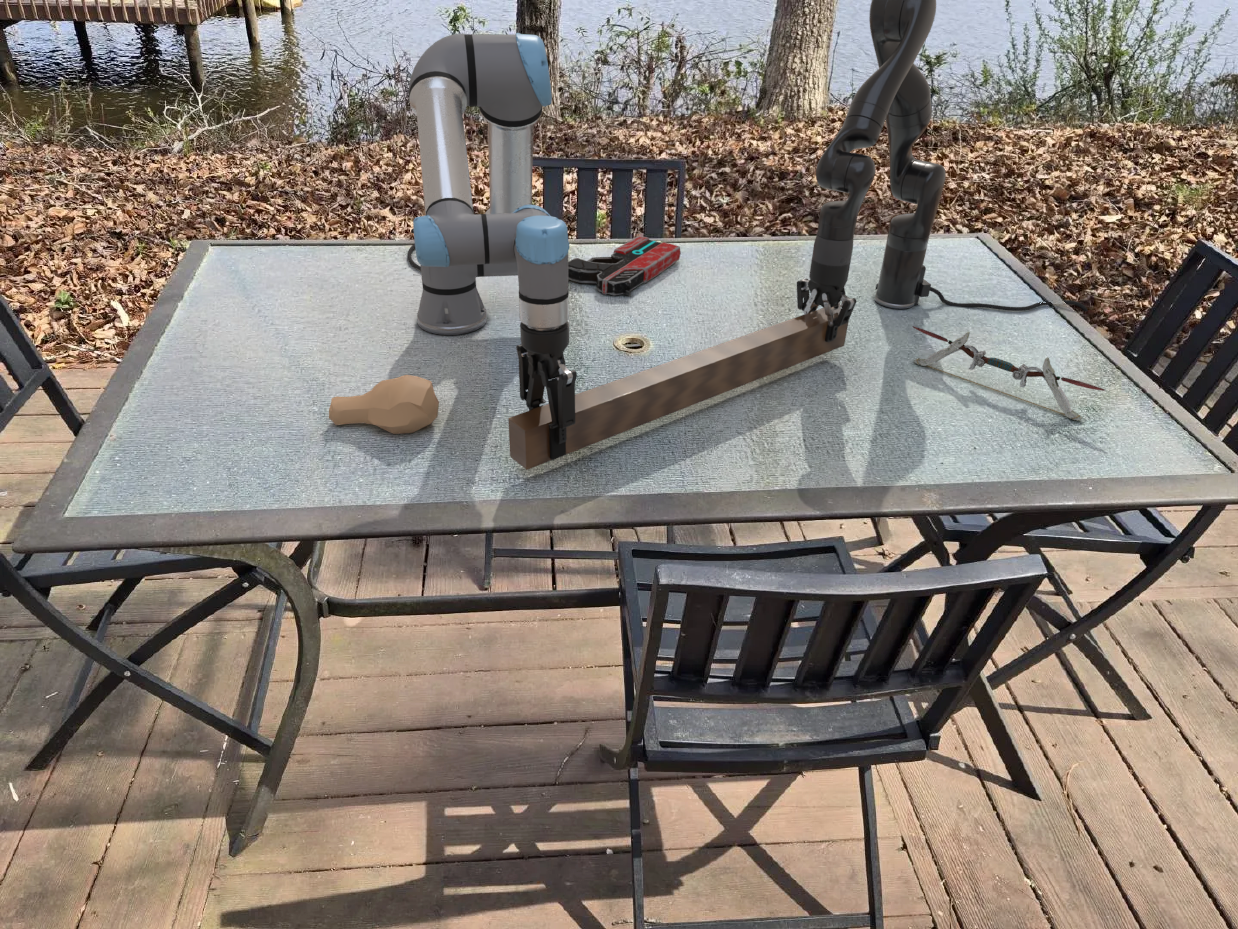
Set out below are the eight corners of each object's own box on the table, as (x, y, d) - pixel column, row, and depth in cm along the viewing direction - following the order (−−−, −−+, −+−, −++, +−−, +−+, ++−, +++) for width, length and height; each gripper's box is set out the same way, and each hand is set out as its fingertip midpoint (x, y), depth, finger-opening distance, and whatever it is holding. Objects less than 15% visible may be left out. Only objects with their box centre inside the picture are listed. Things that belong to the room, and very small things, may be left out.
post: (526, 470, 142) (525, 431, 138) (510, 456, 146) (508, 417, 142) (844, 345, 184) (850, 312, 180) (825, 337, 188) (831, 304, 183)
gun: (556, 265, 215) (624, 284, 207) (621, 228, 237) (685, 244, 229) (556, 282, 217) (623, 301, 209) (620, 244, 239) (683, 260, 231)
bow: (1094, 423, 166) (1111, 376, 160) (1090, 426, 165) (1108, 379, 159) (907, 357, 187) (917, 313, 182) (903, 359, 186) (913, 316, 181)
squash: (439, 440, 156) (426, 401, 150) (330, 449, 157) (313, 410, 151) (448, 401, 164) (436, 363, 157) (344, 410, 165) (328, 372, 159)
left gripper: (599, 335, 130) (598, 465, 143) (532, 296, 142) (536, 419, 155) (558, 349, 126) (560, 481, 139) (492, 307, 138) (500, 432, 151)
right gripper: (873, 264, 169) (857, 344, 179) (816, 242, 178) (804, 319, 188) (847, 272, 165) (833, 353, 175) (791, 250, 174) (780, 328, 184)
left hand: (548, 448), depth 147 cm, fingers closed on post, 5 cm apart
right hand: (818, 335), depth 181 cm, fingers closed on post, 5 cm apart
